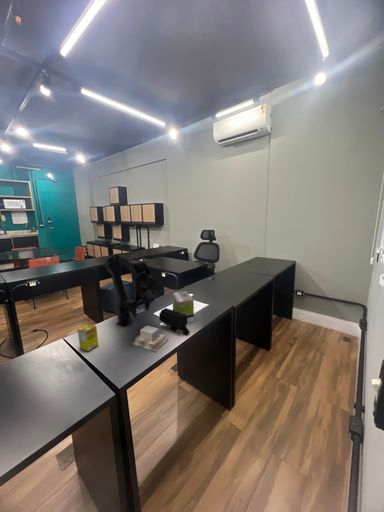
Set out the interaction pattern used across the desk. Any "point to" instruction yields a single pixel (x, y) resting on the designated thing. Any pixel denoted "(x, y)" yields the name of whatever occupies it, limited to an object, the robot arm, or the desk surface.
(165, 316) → the security camera
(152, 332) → the block
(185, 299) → the tea box
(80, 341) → the supplement box
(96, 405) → the desk surface
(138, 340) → the stand
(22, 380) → the desk surface
